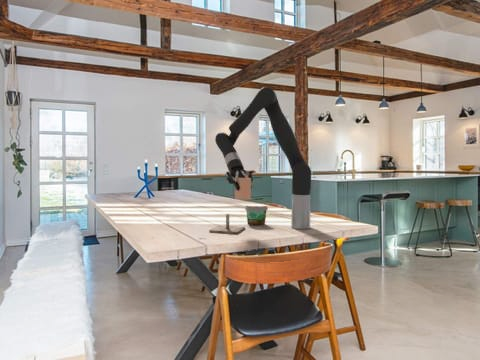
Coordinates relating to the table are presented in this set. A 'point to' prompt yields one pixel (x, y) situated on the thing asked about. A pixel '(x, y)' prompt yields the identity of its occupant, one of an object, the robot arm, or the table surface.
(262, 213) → the food container
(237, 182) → the robot arm
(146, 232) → the table surface
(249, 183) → the salmon pink block
